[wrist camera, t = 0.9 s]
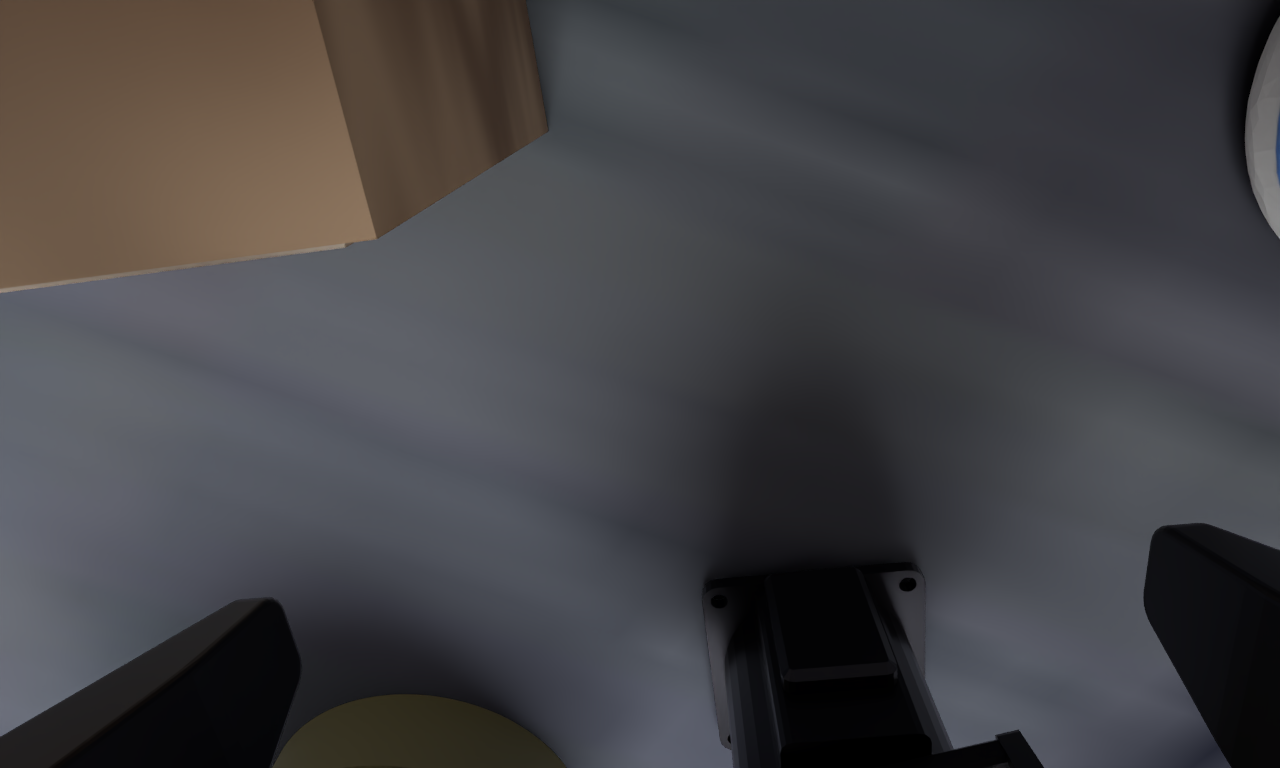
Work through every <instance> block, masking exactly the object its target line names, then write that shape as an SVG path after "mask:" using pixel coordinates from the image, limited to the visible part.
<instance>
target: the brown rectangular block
mask: <svg viewBox="0 0 1280 768" xmlns="http://www.w3.org/2000/svg"><path fill="white" fill-rule="evenodd" d="M546 132H548V126H547V120H546V115H545V109H544V103H543V97H542V91H541V86H540V80H539V74H538V68H537V62H536V57H535V51H534V45H533V39H532V34H531V28H530V22H529V16H528V10H527V5H526V0H0V293H3V292H11V291H19V290H26V289H34V288H41V287H49V286H57V285H64V284H72V283H79V282H87V281H95V280H102V279H110V278H118V277H125V276H133V275H140V274H148V273H156V272H163V271H171V270H178V269H186V268H194V267H201V266H209V265H216V264H224V263H232V262H239V261H247V260H254V259H262V258H270V257H277V256H285V255H293V254H300V253H308V252H315V251H323V250H331V249H338V248H346V247H347V246H349V245H351V244H352V243H354V242H359V241H367V240H374V239H378V238H379V237H381V236H383V235H384V234H386V233H387V232H389V231H391V230H392V229H394V228H395V227H397V226H399V225H400V224H402V223H403V222H405V221H407V220H408V219H410V218H411V217H413V216H414V215H416V214H418V213H419V212H421V211H422V210H424V209H426V208H427V207H429V206H430V205H432V204H434V203H435V202H437V201H438V200H440V199H442V198H443V197H445V196H446V195H448V194H449V193H451V192H453V191H454V190H456V189H457V188H459V187H461V186H462V185H464V184H465V183H467V182H469V181H470V180H472V179H473V178H475V177H477V176H478V175H480V174H481V173H483V172H484V171H486V170H488V169H489V168H491V167H492V166H494V165H496V164H497V163H499V162H500V161H502V160H504V159H505V158H507V157H508V156H510V155H512V154H513V153H515V152H516V151H518V150H519V149H521V148H523V147H524V146H526V145H527V144H529V143H531V142H532V141H534V140H535V139H537V138H539V137H540V136H542V135H543V134H545V133H546Z"/></svg>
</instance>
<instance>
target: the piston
mask: <svg viewBox="0 0 1280 768" xmlns="http://www.w3.org/2000/svg"><path fill="white" fill-rule="evenodd" d="M272 768H566V766H565V765H564V764H563V762H562V761H561V760H560V759H559V758H558V756H557V755H556V754H555V753H554V752H553V751H552V750H551V749H550V748H549V747H548V746H547V745H545V744H544V743H543V742H542V741H541V740H540V739H538V738H537V737H536V736H534V735H533V734H532V733H530V732H529V731H528V730H526V729H524V728H523V727H521V726H520V725H518V724H516V723H514V722H513V721H511V720H509V719H507V718H505V717H503V716H501V715H499V714H497V713H494V712H492V711H490V710H487V709H484V708H482V707H479V706H476V705H473V704H469V703H466V702H462V701H458V700H454V699H449V698H444V697H437V696H429V695H416V694H394V695H382V696H374V697H368V698H364V699H359V700H355V701H352V702H348V703H345V704H342V705H339V706H337V707H335V708H332V709H330V710H328V711H326V712H324V713H322V714H320V715H318V716H317V717H315V718H313V719H312V720H311V721H309V722H308V723H306V724H305V725H304V726H303V727H301V728H300V729H299V730H298V731H297V732H296V733H295V734H294V735H293V736H292V737H291V738H290V740H289V741H288V742H287V743H286V745H285V746H284V748H283V749H282V751H281V753H280V755H279V756H278V758H277V760H276V762H275V764H274V765H273V767H272Z"/></svg>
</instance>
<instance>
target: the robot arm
mask: <svg viewBox="0 0 1280 768" xmlns="http://www.w3.org/2000/svg"><path fill="white" fill-rule="evenodd" d="M907 577H909V578H912V579H911V580H910V581H909V582H907V583H900V581H901V580H902V579H904V578H907ZM718 594H719V595H724V596H725V598H724V599H721V600H716V599H713V598H712V597H713V596H715V595H718ZM1143 598H1144V607H1145V611H1146V614H1147V617H1148V620H1149V622H1150V624H1151V626H1152V627H1153V629H1154V631H1155V633H1156V635H1157V636H1158V638H1159V640H1160V642H1161V644H1162V645H1163V647H1164V649H1165V651H1166V653H1167V654H1168V656H1169V658H1170V660H1171V662H1172V663H1173V665H1174V667H1175V669H1176V671H1177V672H1178V674H1179V676H1180V678H1181V680H1182V681H1183V683H1184V685H1185V687H1186V689H1187V690H1188V692H1189V694H1190V696H1191V698H1192V699H1193V701H1194V703H1195V705H1196V707H1197V708H1198V710H1199V712H1200V714H1201V716H1202V717H1203V719H1204V721H1205V723H1206V725H1207V726H1208V728H1209V730H1210V732H1211V734H1212V735H1213V737H1214V739H1215V741H1216V742H1217V744H1218V746H1219V747H1220V749H1221V751H1222V753H1223V754H1224V756H1225V758H1226V759H1227V761H1228V763H1229V764H1230V766H1231V767H1232V768H1280V550H1278V549H1275V548H1273V547H1270V546H1267V545H1264V544H1262V543H1259V542H1256V541H1253V540H1250V539H1248V538H1245V537H1242V536H1239V535H1237V534H1234V533H1231V532H1228V531H1226V530H1223V529H1220V528H1217V527H1215V526H1212V525H1209V524H1205V523H1191V524H1179V525H1167V526H1162V527H1160V528H1159V529H1157V530H1156V531H1155V532H1154V534H1153V536H1152V539H1151V544H1150V551H1149V558H1148V565H1147V572H1146V580H1145V587H1144V597H1143ZM702 604H703V611H704V619H705V627H706V635H707V642H708V650H709V658H710V666H711V674H712V681H713V689H714V697H715V705H716V712H717V720H718V728H719V736H720V741H721V744H722V745H723V746H724V747H725V748H728V749H730V750H732V759H733V768H1044V767H1043V765H1042V764H1041V762H1040V761H1039V759H1038V758H1037V756H1036V755H1035V753H1034V752H1033V750H1032V749H1031V747H1030V746H1029V744H1028V743H1027V741H1026V740H1025V738H1024V737H1023V735H1022V734H1021V732H1020V731H1019V730H1015V731H1011V732H1006V733H1002V734H998V735H995V737H996V740H993V741H988V742H984V743H980V744H975V745H971V746H966V747H962V748H958V749H953V746H952V744H951V741H950V739H949V737H948V734H947V732H946V729H945V727H944V725H943V722H942V720H941V717H940V715H939V712H938V710H937V708H936V705H935V703H934V700H933V698H932V696H931V693H930V691H929V688H928V686H927V684H926V681H925V579H924V577H923V575H922V573H921V571H920V569H919V568H918V567H917V566H916V565H915V564H912V563H908V562H901V563H890V564H879V565H868V566H857V567H840V568H829V569H818V570H807V571H797V572H786V573H775V574H770V575H759V576H748V577H737V578H726V579H716V580H712V581H710V582H708V583H707V584H705V586H704V588H703V589H702ZM301 667H302V665H301V658H300V654H299V651H298V648H297V645H296V643H295V640H294V637H293V634H292V631H291V628H290V626H289V623H288V620H287V617H286V614H285V611H284V609H283V607H282V605H281V604H280V602H279V601H278V600H276V599H274V598H272V597H265V598H253V599H240V600H237V601H234V602H232V603H230V604H228V605H226V606H225V607H223V608H221V609H220V610H218V611H216V612H214V613H213V614H211V615H209V616H207V617H206V618H204V619H202V620H201V621H199V622H197V623H195V624H194V625H192V626H190V627H189V628H187V629H185V630H183V631H182V632H180V633H178V634H177V635H175V636H173V637H171V638H170V639H168V640H166V641H164V642H163V643H161V644H159V645H158V646H156V647H154V648H152V649H151V650H149V651H147V652H146V653H144V654H142V655H140V656H139V657H137V658H135V659H133V660H132V661H130V662H128V663H127V664H125V665H123V666H121V667H120V668H118V669H116V670H115V671H113V672H111V673H109V674H108V675H106V676H104V677H103V678H101V679H99V680H97V681H96V682H94V683H92V684H90V685H89V686H87V687H85V688H84V689H82V690H80V691H78V692H77V693H75V694H73V695H72V696H70V697H68V698H66V699H65V700H63V701H61V702H59V703H58V704H56V705H54V706H53V707H51V708H49V709H47V710H46V711H44V712H42V713H41V714H39V715H37V716H35V717H34V718H32V719H30V720H28V721H27V722H25V723H23V724H22V725H20V726H18V727H16V728H15V729H13V730H11V731H10V732H8V733H6V734H4V735H3V736H1V737H0V768H271V765H272V762H273V759H274V756H275V753H276V750H277V747H278V744H279V741H280V738H281V735H282V733H283V730H284V727H285V724H286V721H287V718H288V715H289V712H290V709H291V706H292V703H293V700H294V697H295V694H296V691H297V688H298V685H299V682H300V678H301Z"/></svg>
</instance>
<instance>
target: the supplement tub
mask: <svg viewBox="0 0 1280 768" xmlns="http://www.w3.org/2000/svg"><path fill="white" fill-rule="evenodd" d="M1245 153H1246V160H1247V168H1248V173H1249V177H1250V181H1251V185H1252V190H1253V193H1254V195H1255V197H1256V200H1257V202H1258V204H1259V207H1260V209H1261V211H1262V213H1263V215H1264V217H1265V218H1266V220H1267V222H1268V223H1269V225H1270V227H1271V228H1272V229H1273V231H1274V232H1275V233H1276V235H1277V236H1278V237H1279V238H1280V16H1279V18H1278V20H1277V22H1276V23H1275V25H1274V27H1273V29H1272V31H1271V33H1270V35H1269V38H1268V40H1267V43H1266V45H1265V48H1264V50H1263V53H1262V55H1261V58H1260V60H1259V63H1258V66H1257V69H1256V73H1255V76H1254V80H1253V84H1252V88H1251V91H1250V95H1249V99H1248V106H1247V115H1246V123H1245Z"/></svg>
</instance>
